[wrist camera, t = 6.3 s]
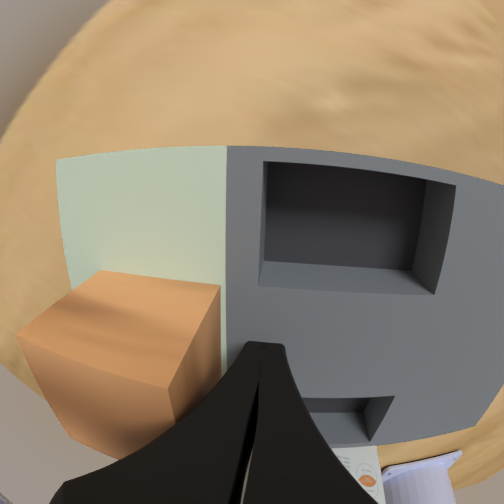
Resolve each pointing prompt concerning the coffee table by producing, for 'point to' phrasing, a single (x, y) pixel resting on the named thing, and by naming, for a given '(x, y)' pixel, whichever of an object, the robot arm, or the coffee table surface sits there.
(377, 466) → the small box
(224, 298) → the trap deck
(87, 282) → the orange block
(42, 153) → the coffee table surface
